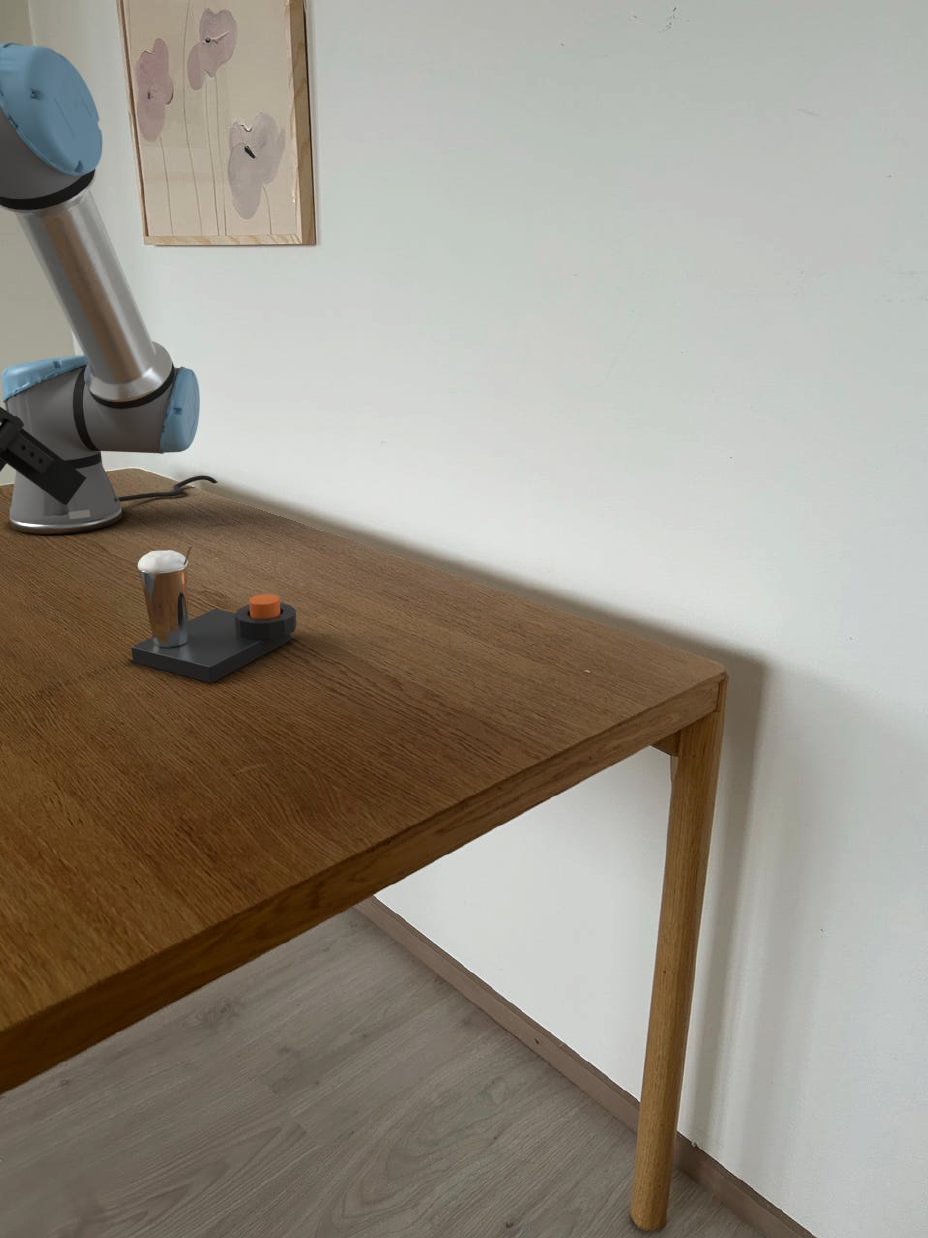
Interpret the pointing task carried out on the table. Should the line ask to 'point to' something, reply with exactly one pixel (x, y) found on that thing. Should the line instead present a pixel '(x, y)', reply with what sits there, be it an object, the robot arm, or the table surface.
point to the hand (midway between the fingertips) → (37, 477)
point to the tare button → (264, 606)
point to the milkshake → (166, 596)
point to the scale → (219, 643)
